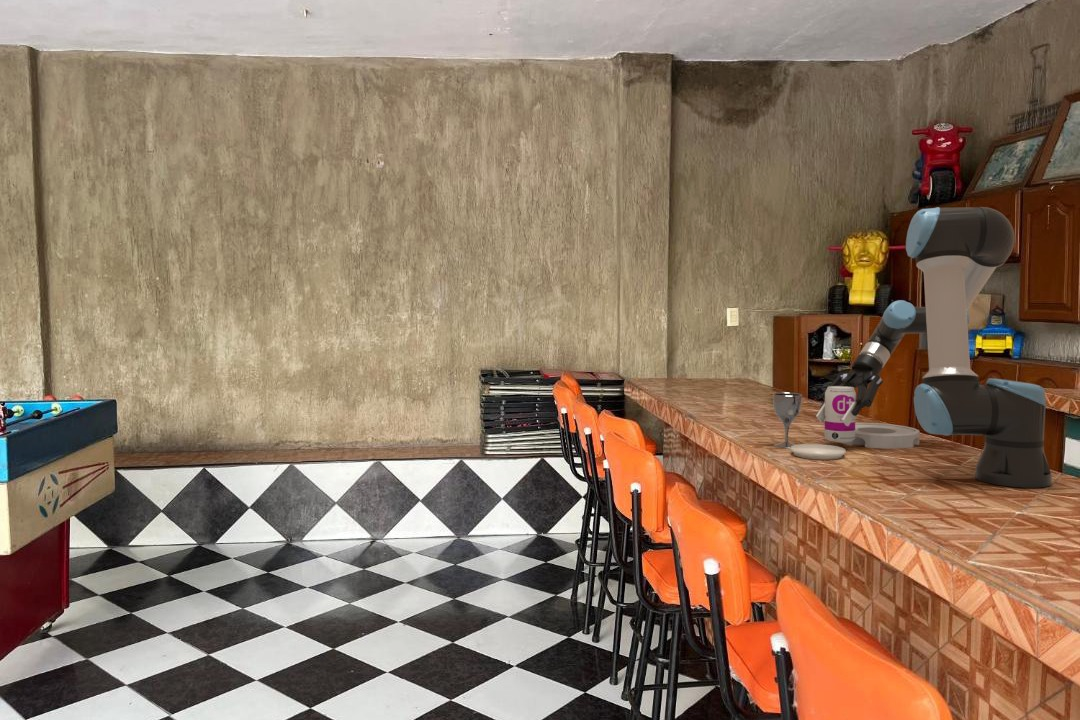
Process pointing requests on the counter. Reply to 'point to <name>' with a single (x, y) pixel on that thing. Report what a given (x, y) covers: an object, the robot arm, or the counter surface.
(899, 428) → the ashtray
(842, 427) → the supplement can
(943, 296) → the robot arm
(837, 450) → the dish
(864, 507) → the counter surface
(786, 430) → the wine glass
